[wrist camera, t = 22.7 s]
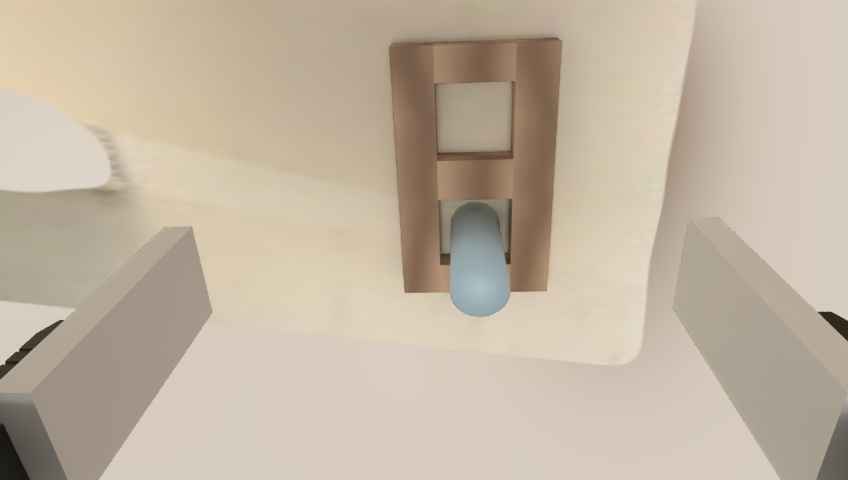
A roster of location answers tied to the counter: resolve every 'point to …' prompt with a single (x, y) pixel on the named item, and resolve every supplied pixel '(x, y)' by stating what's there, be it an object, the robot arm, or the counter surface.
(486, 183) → the socket board
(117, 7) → the counter surface
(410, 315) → the counter surface
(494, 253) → the peg
